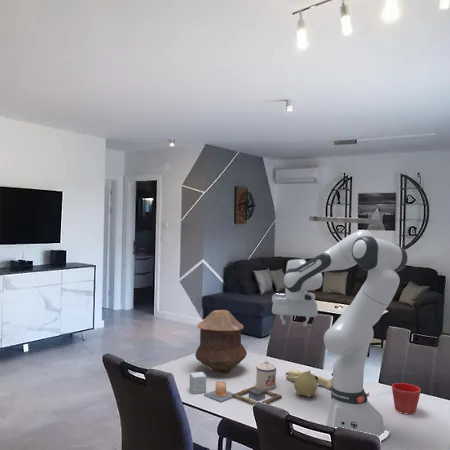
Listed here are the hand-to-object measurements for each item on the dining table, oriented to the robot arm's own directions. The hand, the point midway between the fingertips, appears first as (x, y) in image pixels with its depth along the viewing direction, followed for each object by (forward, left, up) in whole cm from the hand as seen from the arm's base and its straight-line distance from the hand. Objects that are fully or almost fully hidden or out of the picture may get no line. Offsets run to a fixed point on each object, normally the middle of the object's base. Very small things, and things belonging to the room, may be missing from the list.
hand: (294, 325), depth 210 cm
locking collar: (+5, +19, -29) cm, 35 cm away
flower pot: (-45, -15, -29) cm, 56 cm away
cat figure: (-1, -13, -30) cm, 32 cm away
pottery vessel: (+40, +5, -29) cm, 50 cm away
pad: (+17, +29, -29) cm, 44 cm away
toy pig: (-8, +1, -29) cm, 31 cm away
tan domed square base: (+17, +29, -28) cm, 44 cm away
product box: (+28, +32, -29) cm, 52 cm away
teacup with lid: (+11, +4, -29) cm, 32 cm away
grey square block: (+5, +19, -29) cm, 35 cm away
